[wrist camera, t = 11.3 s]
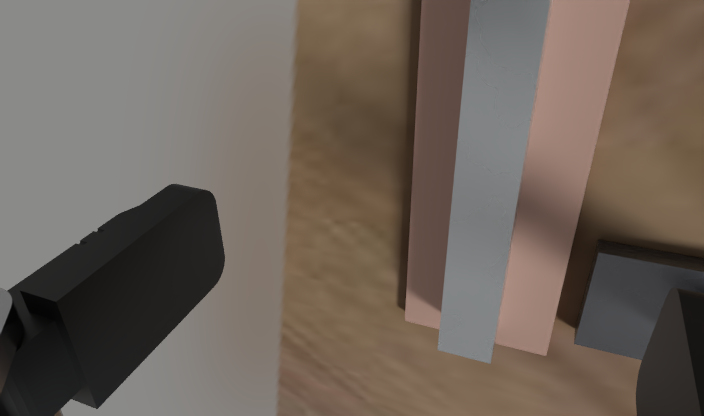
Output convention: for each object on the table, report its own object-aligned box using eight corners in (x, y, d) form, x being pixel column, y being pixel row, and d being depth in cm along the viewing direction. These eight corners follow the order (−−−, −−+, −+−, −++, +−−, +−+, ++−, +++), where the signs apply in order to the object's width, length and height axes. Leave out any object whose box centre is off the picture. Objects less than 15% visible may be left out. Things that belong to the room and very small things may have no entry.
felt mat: (447, -386, 15) (442, -395, 15) (730, -436, 13) (735, -449, 13) (408, 313, 28) (404, 320, 28) (546, 347, 26) (545, 355, 26)
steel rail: (519, -354, 15) (507, -392, 13) (614, -369, 14) (618, -412, 12) (449, 317, 27) (437, 349, 25) (498, 328, 26) (490, 363, 24)
